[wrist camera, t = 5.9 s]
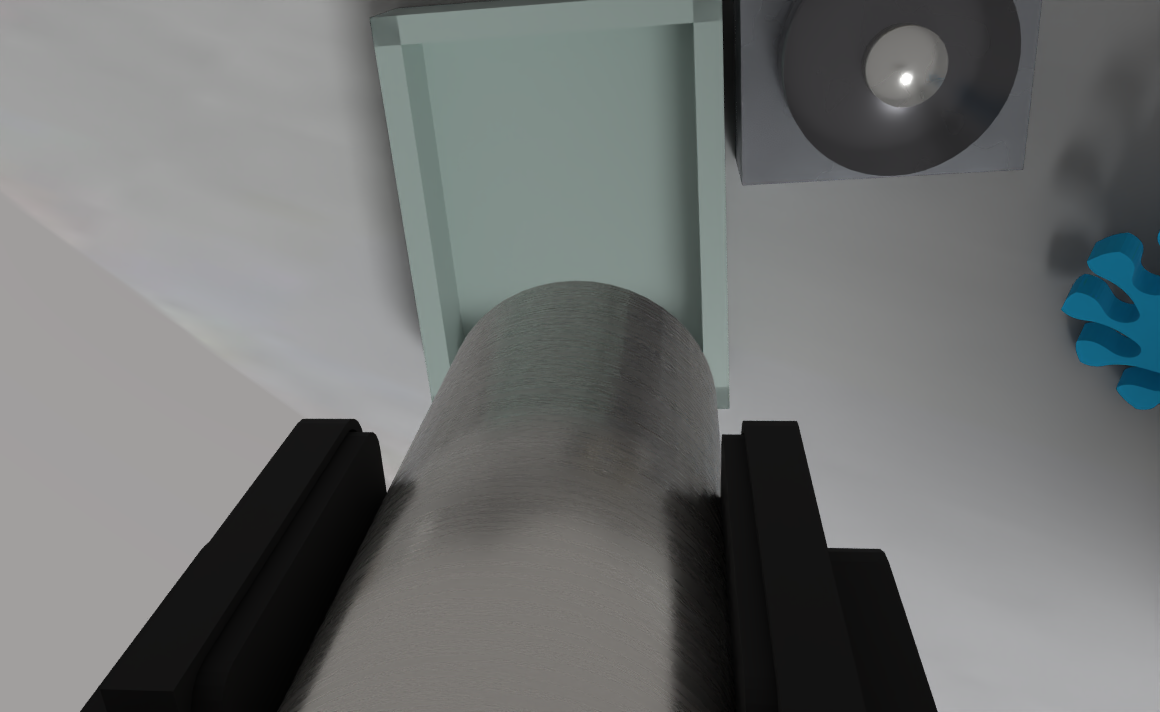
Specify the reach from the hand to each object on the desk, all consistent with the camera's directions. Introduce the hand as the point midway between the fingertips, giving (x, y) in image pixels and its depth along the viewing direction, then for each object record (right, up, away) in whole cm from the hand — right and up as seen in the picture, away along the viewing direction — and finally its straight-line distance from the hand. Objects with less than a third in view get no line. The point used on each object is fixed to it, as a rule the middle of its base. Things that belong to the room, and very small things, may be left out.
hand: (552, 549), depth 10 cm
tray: (0, +7, +22) cm, 23 cm away
